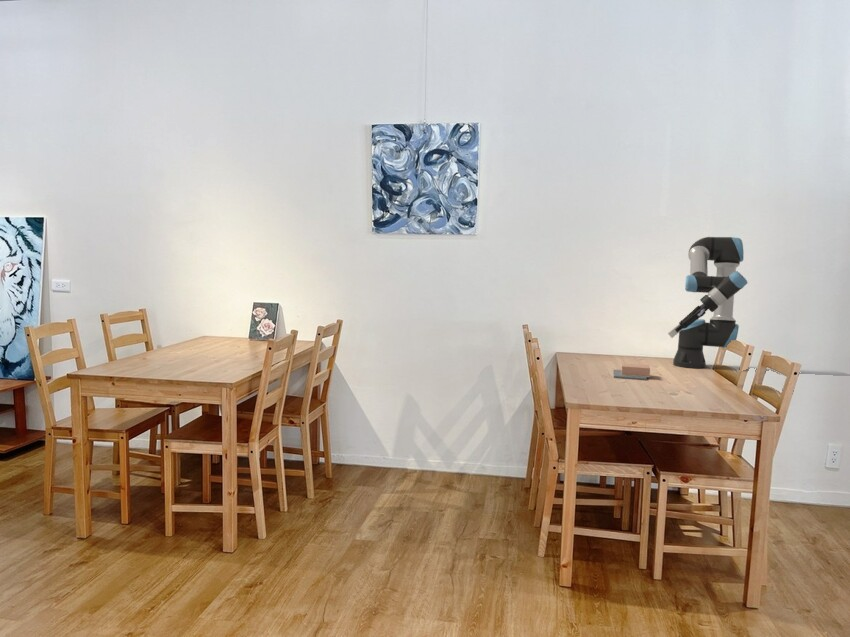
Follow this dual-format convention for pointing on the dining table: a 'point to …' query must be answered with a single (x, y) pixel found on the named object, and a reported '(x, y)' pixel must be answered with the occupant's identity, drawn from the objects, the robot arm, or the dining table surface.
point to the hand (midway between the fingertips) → (669, 335)
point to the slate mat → (618, 375)
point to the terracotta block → (635, 370)
